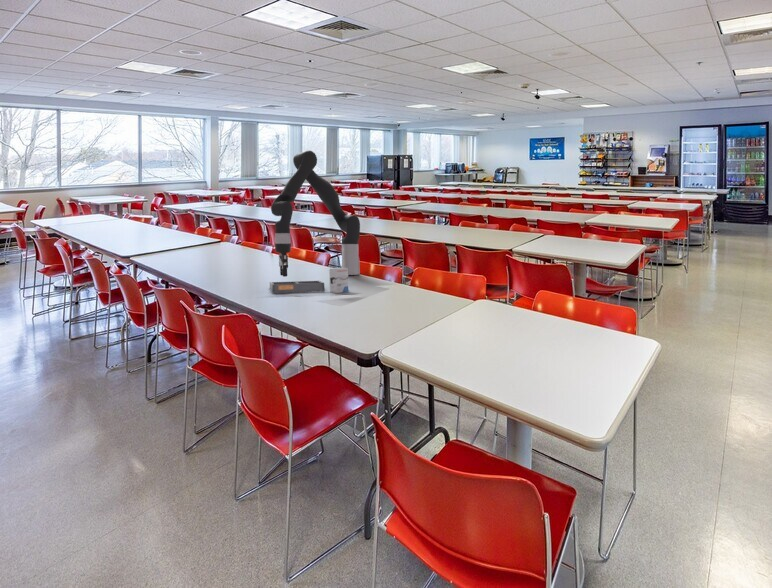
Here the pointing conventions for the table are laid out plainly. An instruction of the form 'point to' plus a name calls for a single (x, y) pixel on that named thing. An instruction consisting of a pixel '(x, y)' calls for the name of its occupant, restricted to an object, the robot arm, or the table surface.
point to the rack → (296, 286)
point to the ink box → (338, 280)
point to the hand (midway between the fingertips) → (283, 275)
